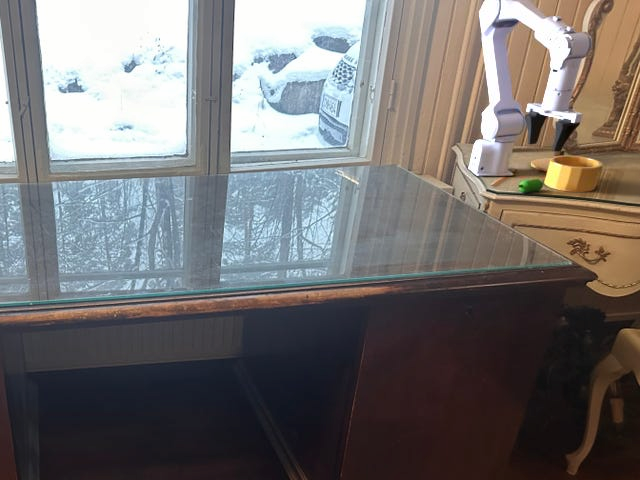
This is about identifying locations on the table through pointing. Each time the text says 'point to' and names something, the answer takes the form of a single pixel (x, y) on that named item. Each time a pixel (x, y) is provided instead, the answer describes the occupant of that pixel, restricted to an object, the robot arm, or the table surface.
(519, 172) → the table surface
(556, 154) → the pot lid
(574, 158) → the pot
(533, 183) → the chili
